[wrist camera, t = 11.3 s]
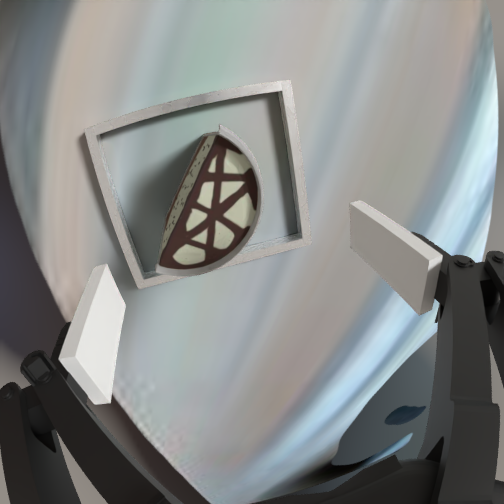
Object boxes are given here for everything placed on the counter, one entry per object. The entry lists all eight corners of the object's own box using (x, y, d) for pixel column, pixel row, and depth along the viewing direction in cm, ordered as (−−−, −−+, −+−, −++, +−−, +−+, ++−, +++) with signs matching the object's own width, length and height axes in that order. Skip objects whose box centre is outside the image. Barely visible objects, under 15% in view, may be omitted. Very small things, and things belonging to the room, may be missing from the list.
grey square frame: (88, 128, 25) (84, 129, 24) (285, 81, 27) (290, 79, 26) (139, 282, 34) (138, 289, 32) (306, 238, 36) (311, 244, 34)
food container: (212, 248, 34) (224, 301, 25) (160, 229, 31) (153, 278, 23) (264, 146, 30) (300, 164, 21) (210, 120, 28) (223, 125, 19)
